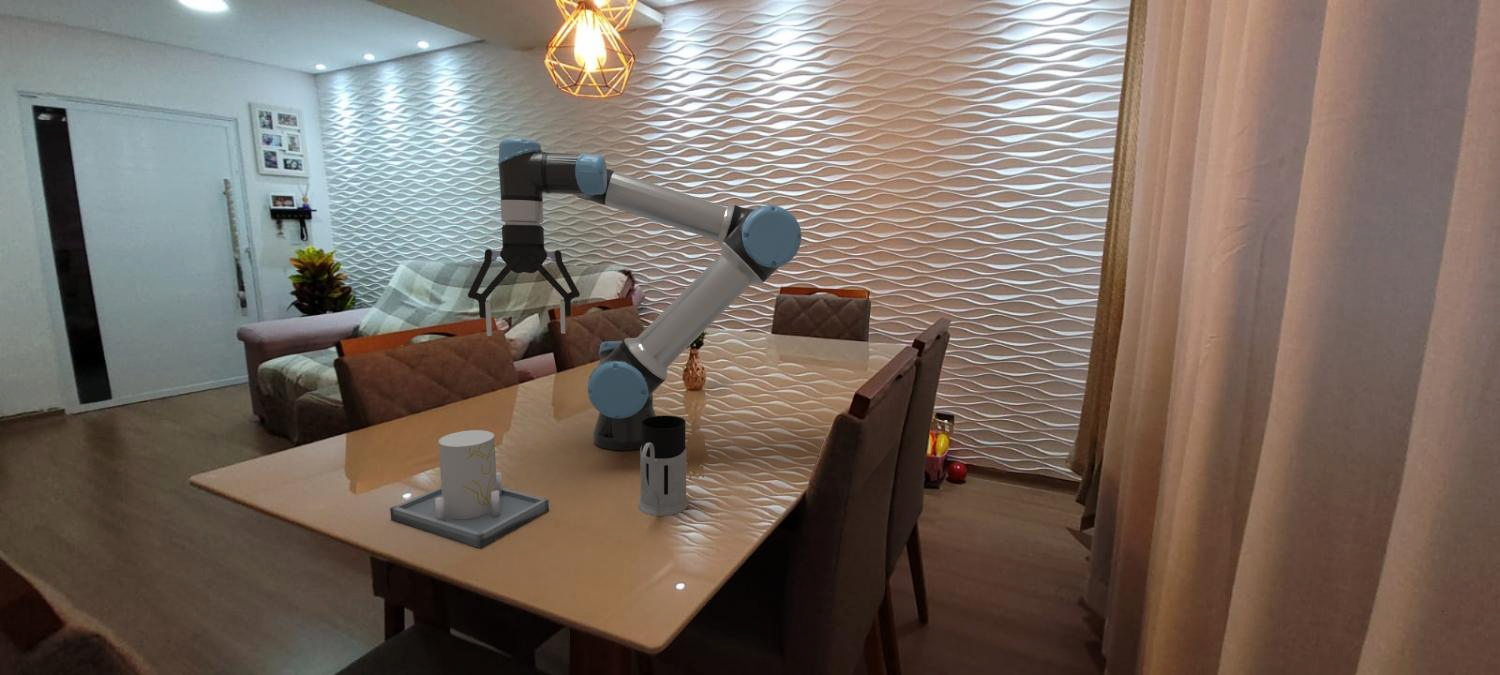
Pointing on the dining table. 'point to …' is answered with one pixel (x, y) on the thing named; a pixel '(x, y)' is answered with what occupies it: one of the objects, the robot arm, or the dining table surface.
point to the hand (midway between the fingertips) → (527, 333)
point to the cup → (467, 473)
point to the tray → (478, 531)
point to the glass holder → (663, 466)
